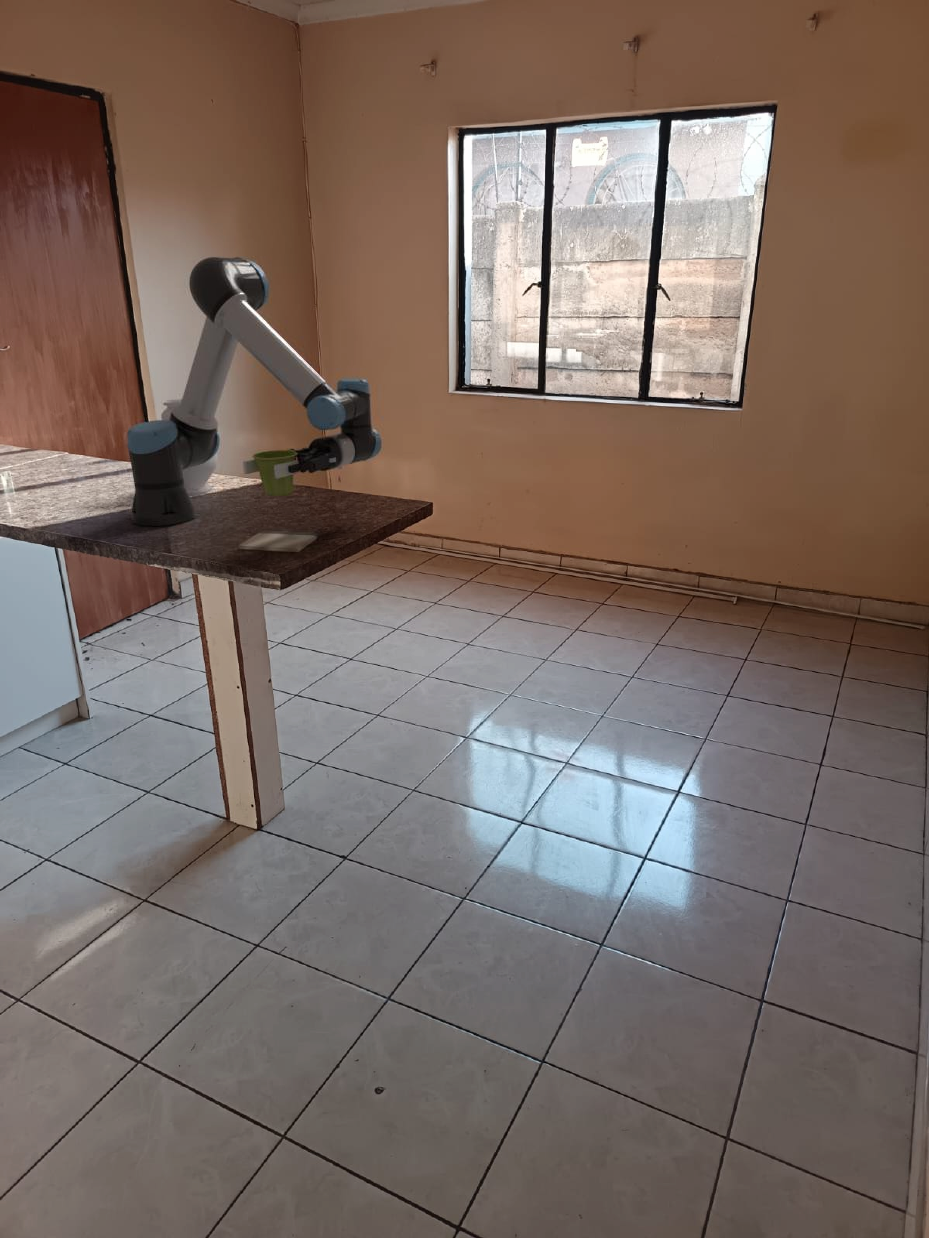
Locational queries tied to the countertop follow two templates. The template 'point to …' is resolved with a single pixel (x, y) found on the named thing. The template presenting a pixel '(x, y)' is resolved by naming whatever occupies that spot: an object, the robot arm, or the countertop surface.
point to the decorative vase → (196, 474)
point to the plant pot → (267, 473)
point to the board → (279, 541)
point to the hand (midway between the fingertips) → (260, 469)
